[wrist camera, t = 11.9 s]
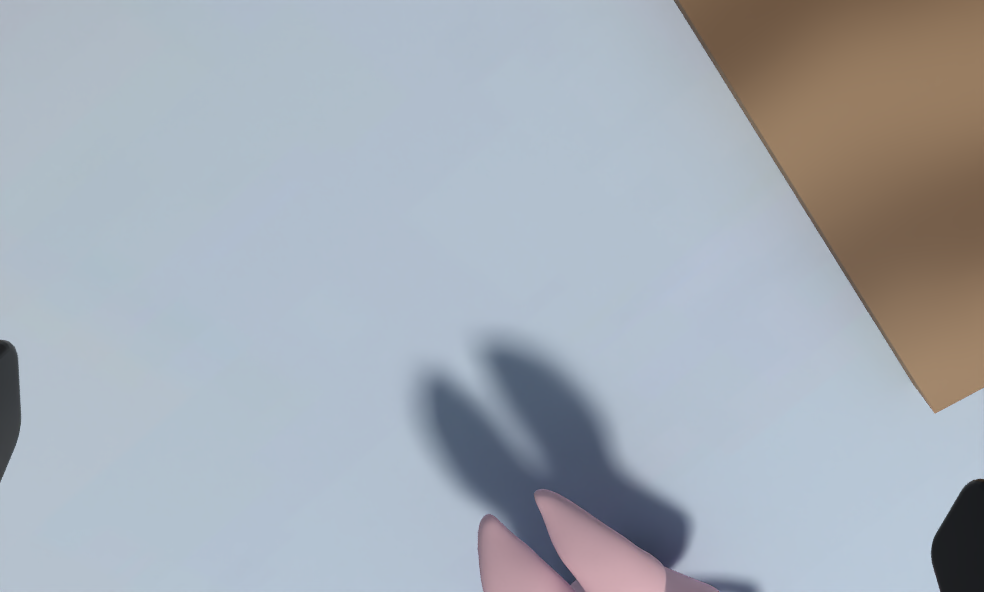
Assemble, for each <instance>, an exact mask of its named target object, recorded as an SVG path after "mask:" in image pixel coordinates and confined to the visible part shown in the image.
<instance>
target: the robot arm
mask: <svg viewBox="0 0 984 592" xmlns="http://www.w3.org/2000/svg"><path fill="white" fill-rule="evenodd" d="M20 425H21V405H20V386H19V367H18V355H17V352H16V349H15V347H14V346H13V345H12V344H11V343H10V342H9V341H6V340H0V482H1V479H2V477H3V475H4V472H5V470H6V467H7V465H8V463H9V460H10V458H11V455H12V453H13V451H14V448H15V446H16V443H17V440H18V436H19V431H20ZM931 558H932V564H933V568H934V572H935V575H936V578H937V582H938V585H939V589H940V592H984V479H976V480H972V481H971V482H969V483H968V484H967V485H965V486H964V488H963V489H962V491H961V492H960V494H959V496H958V497H957V499H956V501H955V502H954V504H953V506H952V507H951V509H950V511H949V513H948V514H947V516H946V518H945V519H944V521H943V523H942V524H941V526H940V528H939V529H938V531H937V533H936V535H935V537H934V539H933V543H932V549H931Z"/></svg>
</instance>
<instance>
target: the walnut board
mask: <svg viewBox="0 0 984 592" xmlns="http://www.w3.org/2000/svg"><path fill="white" fill-rule="evenodd" d="M674 1H675V3H676V4H677V6H678V8H679V9H680V11H681V12H682V14H683V16H684V17H685V19H686V20H687V22H688V24H689V25H690V27H691V28H692V30H693V32H694V33H695V35H696V36H697V38H698V40H699V41H700V43H701V44H702V46H703V48H704V49H705V51H706V53H707V54H708V56H709V57H710V59H711V61H712V62H713V64H714V65H715V67H716V69H717V70H718V72H719V73H720V75H721V77H722V78H723V80H724V81H725V83H726V85H727V86H728V88H729V89H730V91H731V93H732V94H733V96H734V97H735V99H736V101H737V102H738V104H739V105H740V107H741V109H742V110H743V112H744V114H745V115H746V117H747V118H748V120H749V122H750V123H751V125H752V126H753V128H754V130H755V131H756V133H757V134H758V136H759V138H760V139H761V141H762V142H763V144H764V146H765V147H766V149H767V150H768V152H769V154H770V155H771V157H772V158H773V160H774V162H775V163H776V165H777V166H778V168H779V170H780V171H781V173H782V174H783V176H784V178H785V179H786V181H787V183H788V184H789V186H790V187H791V189H792V191H793V192H794V194H795V195H796V197H797V199H798V200H799V202H800V203H801V205H802V207H803V208H804V210H805V211H806V213H807V215H808V216H809V218H810V219H811V221H812V223H813V224H814V226H815V227H816V229H817V231H818V232H819V234H820V235H821V237H822V239H823V240H824V242H825V244H826V245H827V247H828V248H829V250H830V252H831V253H832V255H833V256H834V258H835V260H836V261H837V263H838V264H839V266H840V268H841V269H842V271H843V272H844V274H845V276H846V277H847V279H848V280H849V282H850V284H851V285H852V287H853V288H854V290H855V292H856V293H857V295H858V296H859V298H860V300H861V301H862V303H863V304H864V306H865V308H866V309H867V311H868V313H869V314H870V316H871V317H872V319H873V321H874V322H875V324H876V325H877V327H878V329H879V330H880V332H881V333H882V335H883V337H884V338H885V340H886V341H887V343H888V345H889V346H890V348H891V349H892V351H893V353H894V354H895V356H896V357H897V359H898V361H899V362H900V364H901V365H902V367H903V369H904V370H905V372H906V374H907V375H908V377H909V378H910V380H911V382H912V383H913V385H914V386H915V387H916V389H917V390H918V391H919V393H920V394H921V395H922V397H923V398H924V400H925V401H926V402H927V404H928V405H929V406H930V408H931V409H932V410H933V412H934V413H937V412H939V411H941V410H943V409H944V408H946V407H948V406H950V405H952V404H954V403H956V402H958V401H959V400H961V399H963V398H965V397H967V396H969V395H971V394H973V393H974V392H976V391H978V390H980V389H982V388H984V0H674Z"/></svg>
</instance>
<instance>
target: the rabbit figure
mask: <svg viewBox="0 0 984 592" xmlns="http://www.w3.org/2000/svg"><path fill="white" fill-rule="evenodd" d="M534 498H535V501H536V503H537V505H538V508H539V510H540V512H541V514H542V517H543V519H544V522H545V525H546V528H547V530H548V533H549V536H550V539H551V541H552V543H553V545H554V547H555V549H556V551H557V553H558V555H559V557H560V558H561V560H562V561H563V563H564V564H565V565H566V567H567V568H568V569H569V570H570V571H571V573H572V574H573V575H574V576H575V578H576V580H575V581H574V582H573V583H572V584H571V585H569V584H568V583H567V582H566V581H565V580H564V579H563V578H562V577H561V576H560V575H559V574H558V573H557V572H556V571H555V570H554V569H552V568H551V567H550V566H549V565H548V564H547V563H546V562H545V561H544V560H543V559H542V558H540V557H539V556H538V555H537V554H536V553H535V552H534V551H533V550H532V549H531V548H530V547H529V546H528V545H527V544H525V543H524V542H523V541H522V540H520V539H519V538H518V537H517V536H515V535H514V534H513V533H512V532H511V531H509V530H508V529H507V528H506V527H505V526H504V525H503V524H502V523H501V522H500V521H499V520H498V519H497V518H496V517H495V516H493V515H491V514H487V515H485V516H484V517H483V518H482V520H481V522H480V525H479V530H478V555H479V567H480V575H481V582H482V587H483V591H484V592H719V591H718V590H717V589H716V588H714V587H713V586H711V585H709V584H707V583H704V582H701V581H699V580H696V579H693V578H691V577H688V576H686V575H684V574H681V573H679V572H676V571H674V570H671V569H669V568H667V567H664V566H663V565H662V563H661V562H660V561H659V560H658V559H656V558H655V557H654V556H653V555H651V554H650V553H648V552H646V551H644V550H643V549H641V548H639V547H637V546H636V545H635V544H634V543H632V542H631V541H630V540H628V539H627V538H625V537H624V536H622V535H621V534H619V533H618V532H616V531H615V530H613V529H612V528H610V527H609V526H607V525H606V524H604V523H603V522H601V521H600V520H598V519H597V518H595V517H594V516H592V515H591V514H589V513H588V512H587V511H585V510H584V509H582V508H581V507H579V506H578V505H576V504H575V503H573V502H572V501H570V500H569V499H567V498H565V497H563V496H562V495H560V494H558V493H555V492H553V491H550V490H547V489H538V490H536V491H535V493H534Z"/></svg>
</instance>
